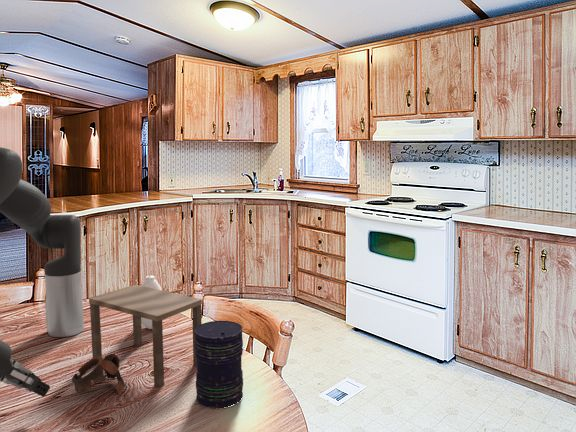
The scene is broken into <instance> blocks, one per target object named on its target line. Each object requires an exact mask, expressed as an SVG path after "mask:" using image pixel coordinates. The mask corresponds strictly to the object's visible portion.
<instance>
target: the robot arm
mask: <svg viewBox="0 0 576 432" xmlns="http://www.w3.org/2000/svg"><path fill="white" fill-rule="evenodd" d="M23 170H24V169H23V163H22V159H21V156H20V155H19V154H18V153H17V152H16V151H15V150H12V149H9V148H5V147H2V146H0V213H1V214H2V215H4V216H5V218H7V220H10V221H11V222H12V223H14V224H15V225H17V226H19V227H20V228H21V229H22V230H24V231H25V232H26V233H27V234H29V236H30V237H31V238H32V240H33V241H34V242H35V243H36V244H37V245H38V246H40V247H41V248H43V249H50V250H51V249H55V250H56V249H59V250H60V249H64V254H63V255H62V256H60V257H58V258H55V259H52V260H49V261H47V262H46V263H45V264H44V269H43V270H44V272H43V273H44V283H45V299H44V303H45V304H44V306H45V319H46V320H45V321H46V332H48V333H47V334H48V335H49V336H50V337H54V338H66V337H67V338H68V337H73V336H75V335H78V334H81V333H82V332H83V331H84V329H85V322H84V320H85V319H84V303H83V300H84V298H83V282H82V267H81V265H82V253H81V252H82V251H81V249H82V248H81V247H82V246H81V243H82V236H81V235H82V228H81V223H80V219H79V218H78V217H77V216H76V215H74V214H51V212H52V205H51V202H50V200H49V199H48V198H47V197H48V196H46V195H45V194H44V193H43V192H42V191H41V190H40V189H39V188H38V187H36V186H35V185H33V184H32V183H30V182H28V181H26V180H24V179H22V174H23ZM12 353H13V352H12V347H11V346H10V345H9V344H8V343H7V342H5V341H3V340H1V339H0V382H2V383H4V384H6V385H7V386H8V385H11V386H12V387H15V388H17V389H19V390H20V389H24V390H25V391H27V392H32V393H35V394H36V395H38V396H41V397H45V396H46V395H47V394H48V392H49V391H50V389H51V386H50V385H49V384H48V383H46V382H44V381H42V378H41V377H39V376H37V375H36V374H35V373H34V372H33V371H32V370H30V369H28V368H26V367H25V366H23V364H22V363H20V362H19V361H17V360H13V359H11V358H12Z"/></svg>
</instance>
